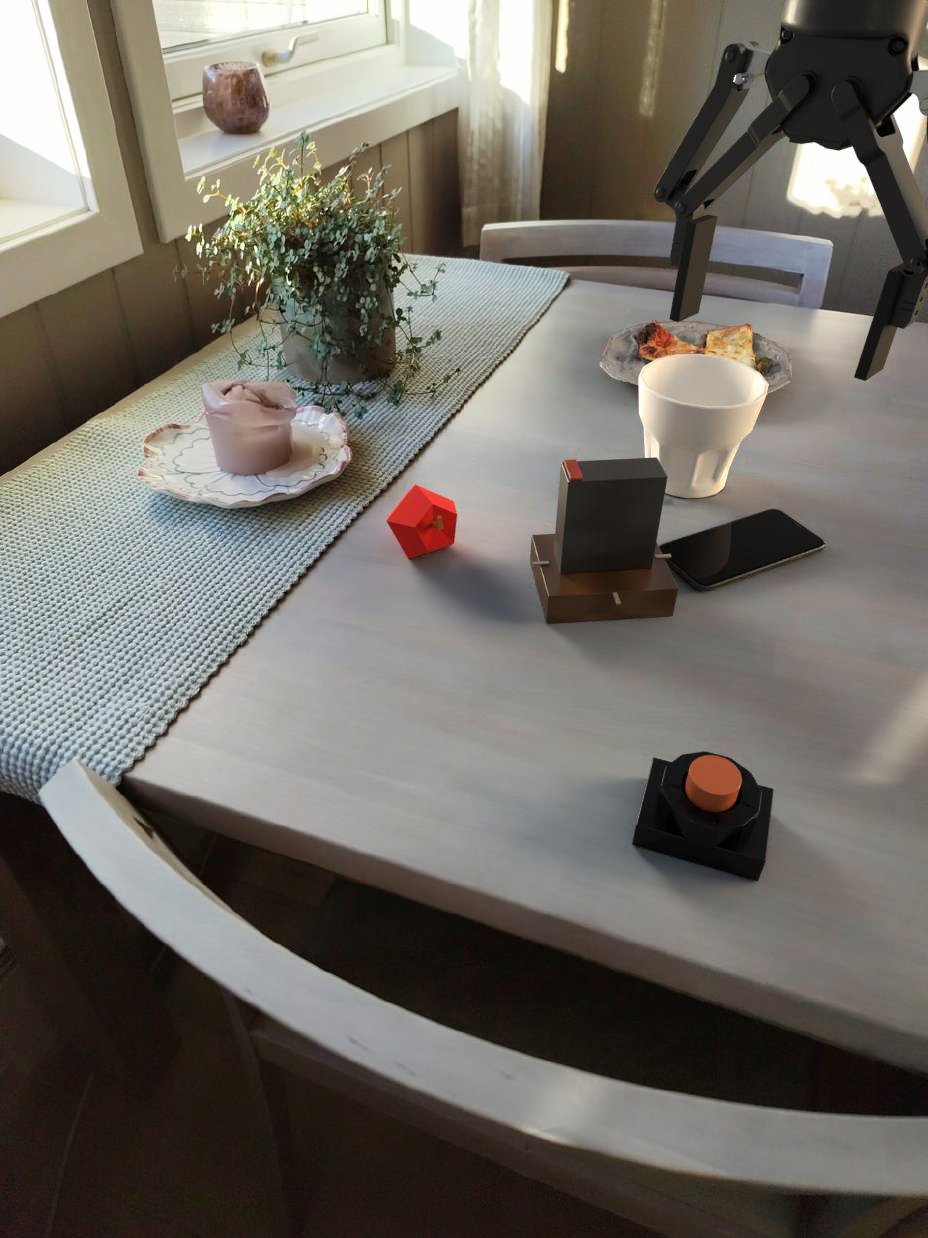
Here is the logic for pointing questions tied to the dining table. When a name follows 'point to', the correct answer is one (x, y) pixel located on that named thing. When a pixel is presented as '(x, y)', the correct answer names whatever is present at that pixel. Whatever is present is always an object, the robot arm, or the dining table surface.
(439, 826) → the dining table surface
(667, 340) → the food plate
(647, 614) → the base
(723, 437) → the cup
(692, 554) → the smartphone
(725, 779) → the button
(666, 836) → the button block
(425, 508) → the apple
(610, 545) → the dark grey block
